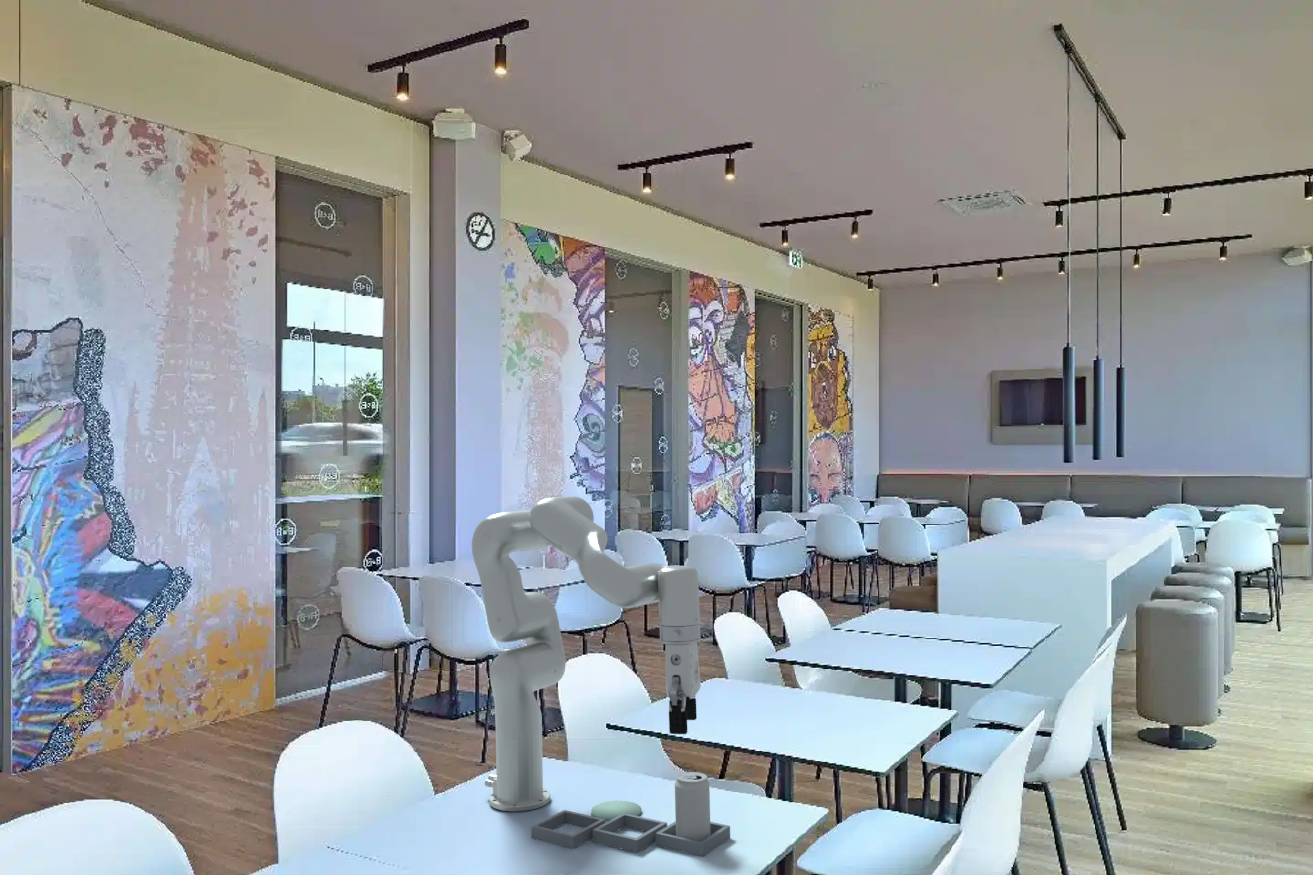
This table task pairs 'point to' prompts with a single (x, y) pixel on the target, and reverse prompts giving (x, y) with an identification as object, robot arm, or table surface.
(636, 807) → the coaster
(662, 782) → the table surface
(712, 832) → the tray
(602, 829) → the tray
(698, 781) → the beverage can
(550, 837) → the tray
